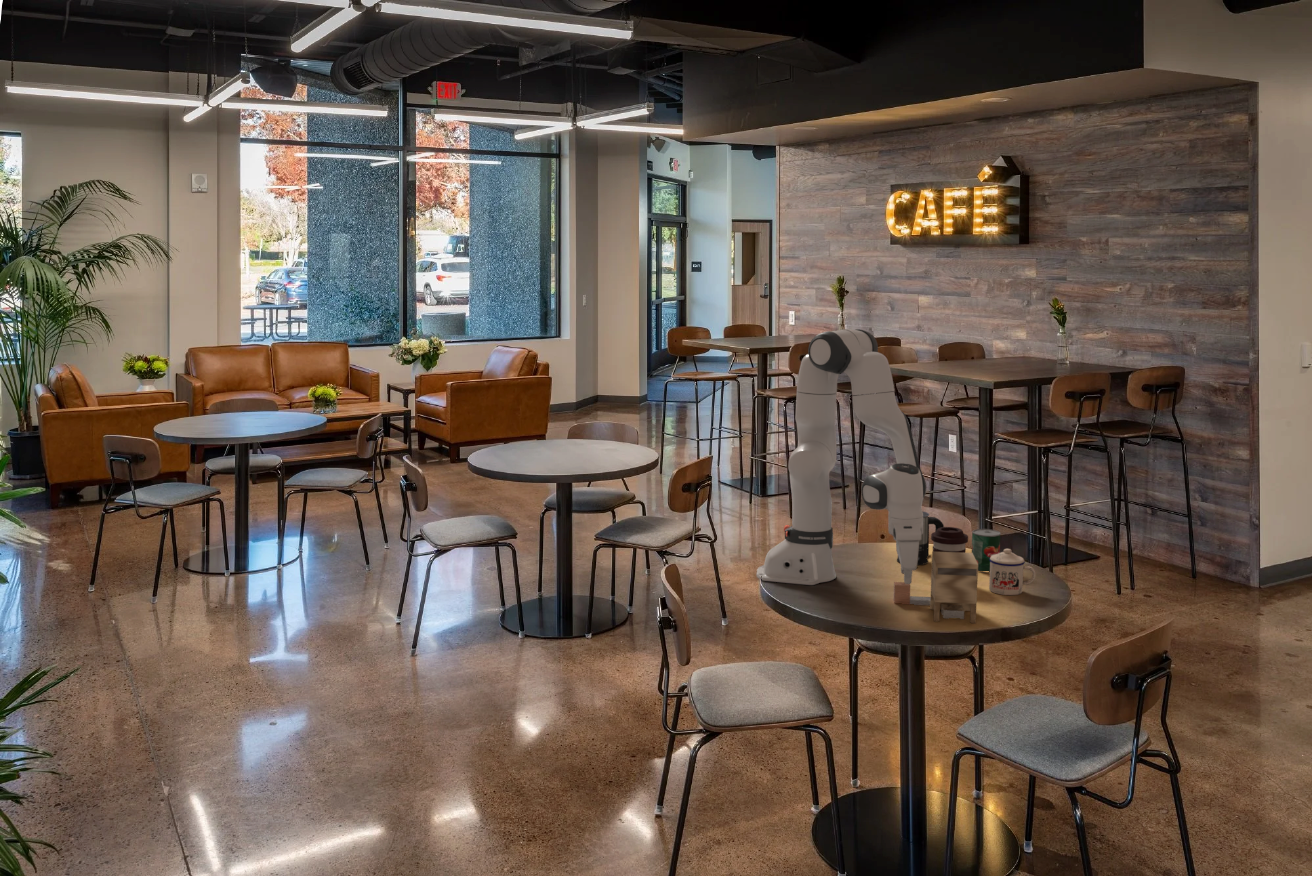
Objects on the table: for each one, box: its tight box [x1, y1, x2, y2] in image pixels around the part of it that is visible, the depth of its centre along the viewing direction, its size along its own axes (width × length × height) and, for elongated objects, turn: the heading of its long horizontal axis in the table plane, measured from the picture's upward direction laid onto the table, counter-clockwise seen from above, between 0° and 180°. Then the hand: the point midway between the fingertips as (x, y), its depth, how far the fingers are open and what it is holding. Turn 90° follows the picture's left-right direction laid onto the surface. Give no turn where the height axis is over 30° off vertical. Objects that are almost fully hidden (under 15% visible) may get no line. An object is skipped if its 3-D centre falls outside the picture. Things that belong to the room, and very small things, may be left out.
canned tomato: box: [971, 528, 1002, 572], centre depth 320 cm, size 8×8×11 cm
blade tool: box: [892, 581, 931, 606], centre depth 288 cm, size 18×4×5 cm, turn 81°
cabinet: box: [929, 550, 979, 624], centre depth 277 cm, size 10×11×15 cm
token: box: [940, 604, 965, 620], centre depth 278 cm, size 5×5×2 cm
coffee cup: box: [930, 526, 969, 553], centre depth 307 cm, size 10×10×15 cm
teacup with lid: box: [988, 548, 1037, 596], centre depth 298 cm, size 12×9×12 cm
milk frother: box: [896, 510, 945, 566], centre depth 331 cm, size 14×16×15 cm
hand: (906, 578), depth 288 cm, fingers open, 8 cm apart
